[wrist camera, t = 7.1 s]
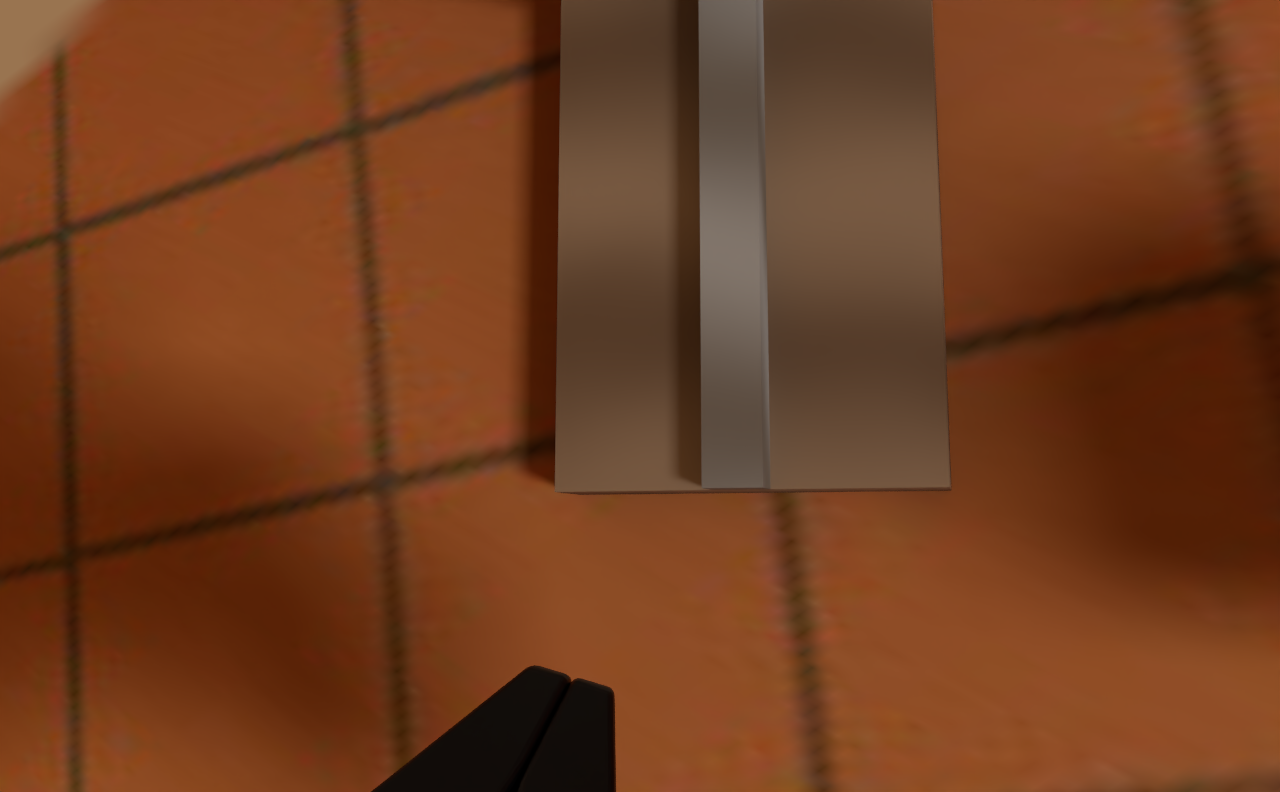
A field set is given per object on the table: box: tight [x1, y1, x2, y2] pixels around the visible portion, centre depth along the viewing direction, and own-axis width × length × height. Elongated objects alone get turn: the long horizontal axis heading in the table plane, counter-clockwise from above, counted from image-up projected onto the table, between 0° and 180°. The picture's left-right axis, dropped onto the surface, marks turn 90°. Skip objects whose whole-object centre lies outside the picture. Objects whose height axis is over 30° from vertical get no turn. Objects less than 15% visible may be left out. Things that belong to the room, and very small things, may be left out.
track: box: [555, 0, 951, 495], centre depth 19 cm, size 18×8×8 cm, turn 0°
